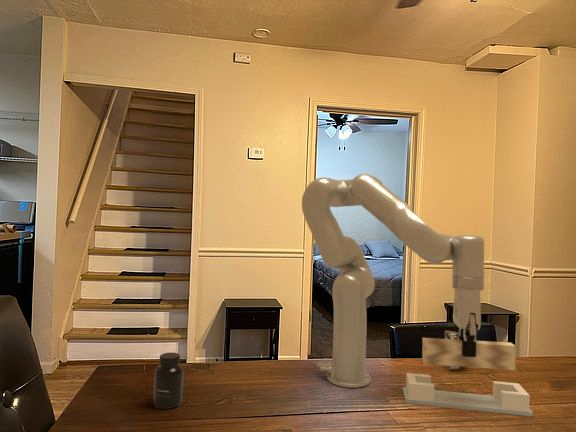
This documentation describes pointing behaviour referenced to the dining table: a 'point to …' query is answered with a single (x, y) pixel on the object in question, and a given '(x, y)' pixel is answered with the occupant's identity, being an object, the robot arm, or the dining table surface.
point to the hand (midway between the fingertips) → (467, 353)
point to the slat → (451, 355)
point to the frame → (468, 397)
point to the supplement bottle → (168, 381)
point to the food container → (455, 336)
